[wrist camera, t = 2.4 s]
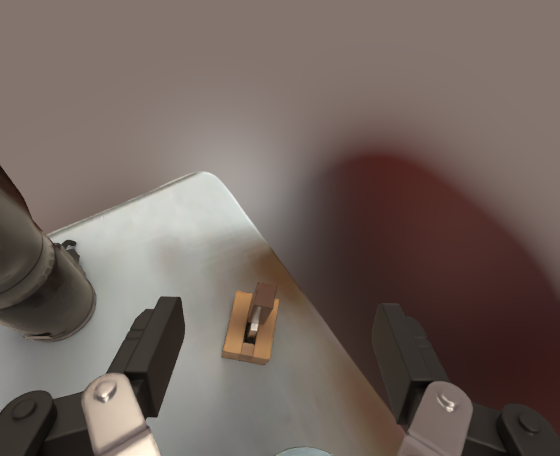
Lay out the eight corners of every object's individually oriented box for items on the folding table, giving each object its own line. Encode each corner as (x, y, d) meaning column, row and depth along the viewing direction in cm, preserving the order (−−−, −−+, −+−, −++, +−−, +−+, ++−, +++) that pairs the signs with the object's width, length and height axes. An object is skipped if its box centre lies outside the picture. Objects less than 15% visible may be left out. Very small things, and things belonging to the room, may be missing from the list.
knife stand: (234, 301, 50) (236, 290, 46) (273, 309, 51) (279, 299, 46) (221, 357, 46) (222, 351, 42) (264, 365, 46) (269, 359, 42)
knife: (244, 317, 49) (259, 274, 35) (257, 319, 49) (278, 278, 35) (239, 345, 47) (252, 312, 33) (252, 347, 47) (272, 316, 33)
